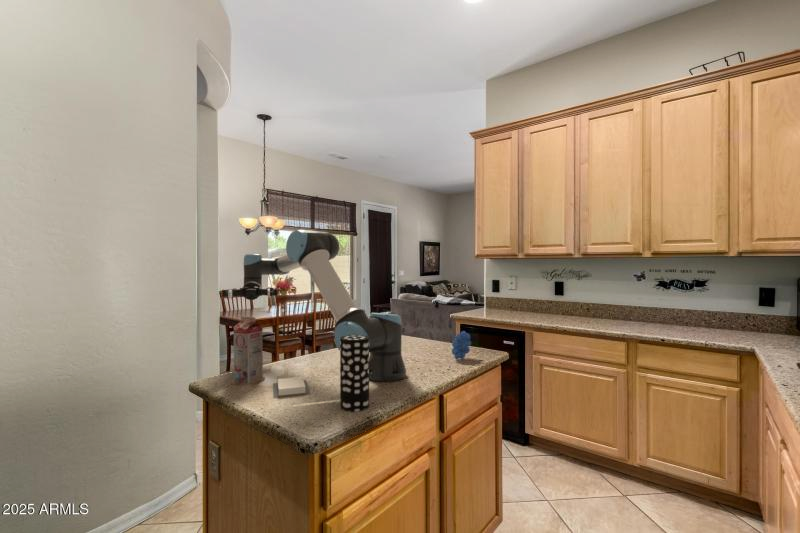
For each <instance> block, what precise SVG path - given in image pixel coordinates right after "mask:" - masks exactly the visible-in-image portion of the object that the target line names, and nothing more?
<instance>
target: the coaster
mask: <svg viewBox="0 0 800 533" xmlns="http://www.w3.org/2000/svg"><path fill="white" fill-rule="evenodd" d="M265 380H266V377H265V376H263V378H262V379H259V380H257V381H254V382H251V383H248V384H247V383H242V382H237V381H234V378H233V379H231V380H230V381H231V382H230V383H231V384H232V385H234V386H250V385H251V386H252V385H256V384H260V383H262V382H264V381H265Z"/></svg>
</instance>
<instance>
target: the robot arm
mask: <svg viewBox="0 0 800 533" xmlns="http://www.w3.org/2000/svg"><path fill="white" fill-rule="evenodd" d="M285 245H286V246H285V251H286V254H285V255H284V254H283V255H282V256H279V257H276V258H265V257H264V258H263V257H262V256H263V255H262V254H259V253H246V254H245V255H244V257H243V286H242V287H239V289H238V288H231V289H222V290H221V297H222V298H225V297H226V299H227V300H230V299H232V298H233V297H241V298H242V297H243V298H245V299H246V300H248V301H255V300H257V299H258V298H259V297H262V296H267V298H271V297H272V296H274V297H275V296H278V295H279V294H278V293H279V292H278V291H279V290H278V288H274V287H270V288H269V287H266V288H263V282H262V281H263V279H262V278H263V276H269V275H271V276H272V275H273V276H274V275H277V276H278V275H280V276H281V275H287V274H289V273H290V272H291V271H293V270H296V269H299V268H301V269H302V270H304V271H308V273H309V275H310V277H311V278H312V280H313V282H314V284H315V285H316V288H317V289H318V291H319V293H320V294H321V296H322V298H323V300H324V302H325V304H326V306H327V308H328V309H329V311H330V312H331V315H332V316H333V318H334V319H335V323H334V325H333V326H334V332H333V336H334V338H333V340H334V341H333V342H334V343H335V346H336V348H337V349H338V351H340V337H342V336H347V335H365V336H368V337H369V381H370V380H371V381H373V382H384V383H385V382H397V381H400V380H403V379H405V378H406V377H407V368H406V366H405V362H404V358H403V355H402V330H403V329H402V328H403V324H402V317H401V316H400V315H399V314H393V313H385V312H383V313H382V312H371V313H369V316H368V315H367V313H366V312H365V310H364V309H362V308H358V307H357V305H356V304H355V302H354V300H353V299H352V297H351V295H350V293H349V292H348V290H347V289H346V287H345V285H344V284H343V282H342V280H341V278H340V276H339V275H338V273H337V271H336V270H335V268H334V266H333V265H332V263H331V260H333V259H335V258H336V257H337V255H338V254H339V252H340V242H339V239H338V237H336V236H335V235H334V233H333V234H332V233H331V232H328V231H319V230H309V229H308V230H307V229H295V230H294V231H292V232H291V233H290V234H289V235H288V238H287V241H286V244H285Z"/></svg>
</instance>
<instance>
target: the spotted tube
mask: <svg viewBox="0 0 800 533" xmlns="http://www.w3.org/2000/svg"><path fill="white" fill-rule="evenodd" d="M339 352H340V354H339V355H340V356H339V359H340V360H339V364H340V366H339V373H340V374H339V376H340V377H339V382H340V383H339V385H340V386H339V387H340V391H339V394H340V395H339V400H340V401H339V407H340V409H341V410H342V411H345V412H353V413H354V412H356V413H357V412H361V411H364V410H365V411H366V410H367V409H368V408H369V407H370V379H369V357H370V352H369V337H368V336H365V335H347V336H342V337H340V350H339Z"/></svg>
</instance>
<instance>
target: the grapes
mask: <svg viewBox="0 0 800 533" xmlns="http://www.w3.org/2000/svg"><path fill="white" fill-rule="evenodd" d="M451 345H452V347H453V348H452V349H451V353H452V355H453V356H454V359H456V360H458V359H461V358H463V359H464V358H465V357H466V355H467V354H468V353H469V352H470V347H471V345H472V341H471V335H470V333H467V332H466V331H465V330H462V331H461V332H460V333H457V334H456V335H455V339H453V341H452V343H451Z"/></svg>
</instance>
